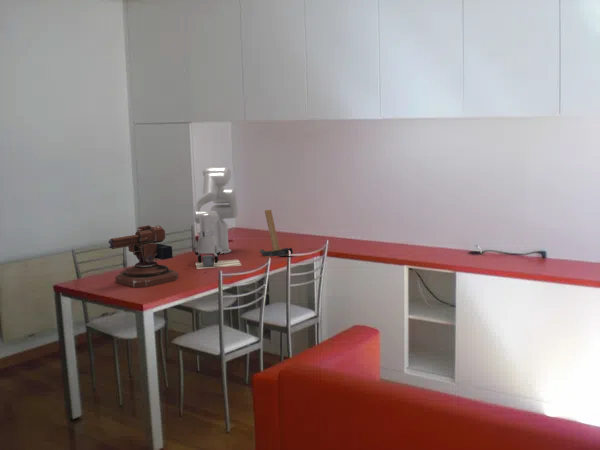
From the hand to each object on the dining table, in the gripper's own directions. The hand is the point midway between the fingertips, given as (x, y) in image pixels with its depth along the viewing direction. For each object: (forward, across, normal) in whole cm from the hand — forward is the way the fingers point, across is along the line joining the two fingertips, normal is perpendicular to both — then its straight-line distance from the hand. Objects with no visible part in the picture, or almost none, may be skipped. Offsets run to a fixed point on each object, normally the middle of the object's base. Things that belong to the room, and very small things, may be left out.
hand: (208, 262), depth 412 cm
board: (+3, +5, +5) cm, 7 cm away
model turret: (+3, -28, -34) cm, 44 cm away
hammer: (+3, +34, +34) cm, 48 cm away
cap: (+1, 0, 0) cm, 1 cm away
